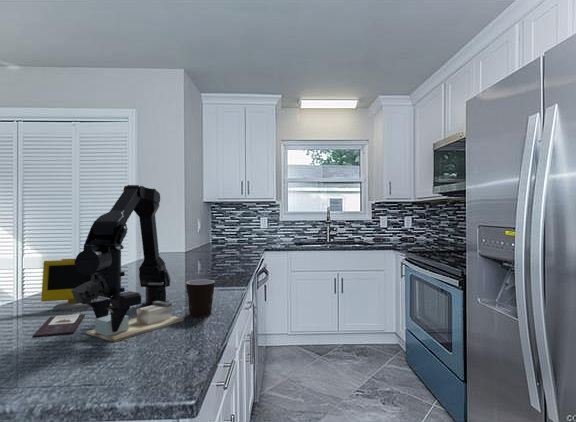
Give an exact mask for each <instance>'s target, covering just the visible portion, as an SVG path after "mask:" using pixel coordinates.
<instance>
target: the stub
mask: <svg viewBox="0 0 576 422" xmlns="http://www.w3.org/2000/svg"><path fill="white" fill-rule="evenodd" d="M129 320H130V319H129V315H127V314H126V315H125V317H124V319H123V321H122V323H121V325H120V327H119V329H118V331H117V332H113V331H112V324H111V314H110V315H109V314H108V316H104V317H100V318H96V317H95V321H94V322H95V323H94V329H95V333H98V334H102V335H106V336H109V335H112V334H115V333H119V332H122V331H126V330H129Z"/></svg>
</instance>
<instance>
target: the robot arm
mask: <svg viewBox="0 0 576 422" xmlns="http://www.w3.org/2000/svg"><path fill="white" fill-rule="evenodd" d="M160 202H161V194H160V192H159V191H157V189H155V188H150V187H145V186H143V185H141V184H127V185H125V186H124V187H123V192H122V193H121V195H120V196H119V197H118V199H117V200H116V202H115V203H114V205H113V206H112V207H111V209H110V210H109V211H108V212H106V213H103V214H101V215H99V217H97V219H95V221H93V223H92V225H91V227H90V229H89V232H88V234H87V236H86V239H85V242H84V244H83V250H82V251H80V252H79V253H78V254H77V256H76V257H75V259H76V260H75V267H76V269H77V271H78V272H79V273H81V274H83V275H91V274H92V275H91V280H90V281H88V282H86V283H84V284H82V285H80V286H78V287H76V288H74V289H72V290H71V292H72V294H73V297H74V299H75V302H76V303H78V302H79V303H82V304H87V305H89V306H90V307H89V308H91V309H92V310H93V313H94V316H95V319H96V318H100V317H104V316H108V315H109V312H110V315H111V324H112V331H113V332H117V331H118V329H119V327H120V325H121V323H122V321H123V319H124V317H125V315H126V316H127V313H128V311H130V310H129V309H130V308H131V307H133V306H137V305H142V306H146V307H147V306H151V305H153V302H155V301H162V302H167V303H170V302H169V301H168V300H167V291H166V288H167V287H170V286H171V277H170V274H169V272H168V270H167V267H166V266H167V265H166V262H165V261H164V260H163V259H162V257H161V256H160V252H159V251H160V250H159V242H158V232H157V231H158V230H157V219H156V213H157V212H158V210H159V208H160ZM133 212H134V213H135V214H136V215H137V216H138V219H139V225H140V227H139V228H140V235H141V243H142V252H143V260H142V263H141V265H140V266H139V268H138V271H139V272H138V276H139V277H138V278H139V285H140V287H141V288H145V302H142V295H141V294H140V292H136V291H125V289H126V288H125V287H123V286H122V277H125V271H122V250H124V245H123V244H122V243H123V241H124V239H125V238H126V236H127V234H128V227H127V226H128V225H127V222H128V220H129V218H130V216H131V215H132V213H133Z"/></svg>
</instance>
